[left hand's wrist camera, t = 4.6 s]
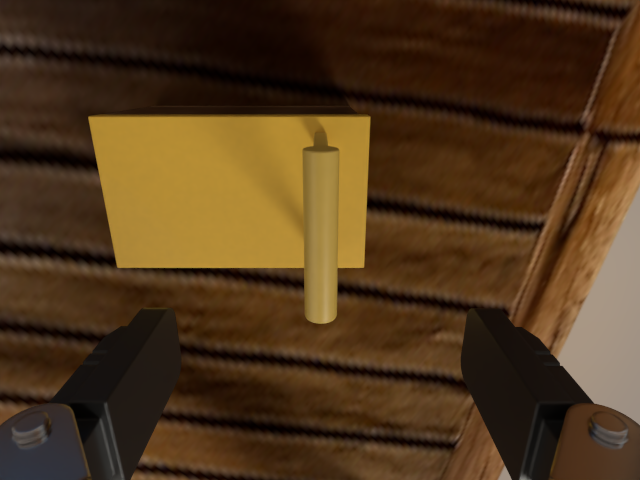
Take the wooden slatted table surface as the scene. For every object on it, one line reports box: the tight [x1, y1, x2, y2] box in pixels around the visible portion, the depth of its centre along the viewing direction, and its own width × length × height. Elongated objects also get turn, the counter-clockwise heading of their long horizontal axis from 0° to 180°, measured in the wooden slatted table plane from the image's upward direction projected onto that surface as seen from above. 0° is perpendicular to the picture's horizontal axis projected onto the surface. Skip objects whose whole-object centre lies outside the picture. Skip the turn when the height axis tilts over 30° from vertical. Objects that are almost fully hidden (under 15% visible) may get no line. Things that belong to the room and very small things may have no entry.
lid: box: [88, 115, 370, 323], centre depth 22 cm, size 16×9×9 cm, turn 90°
